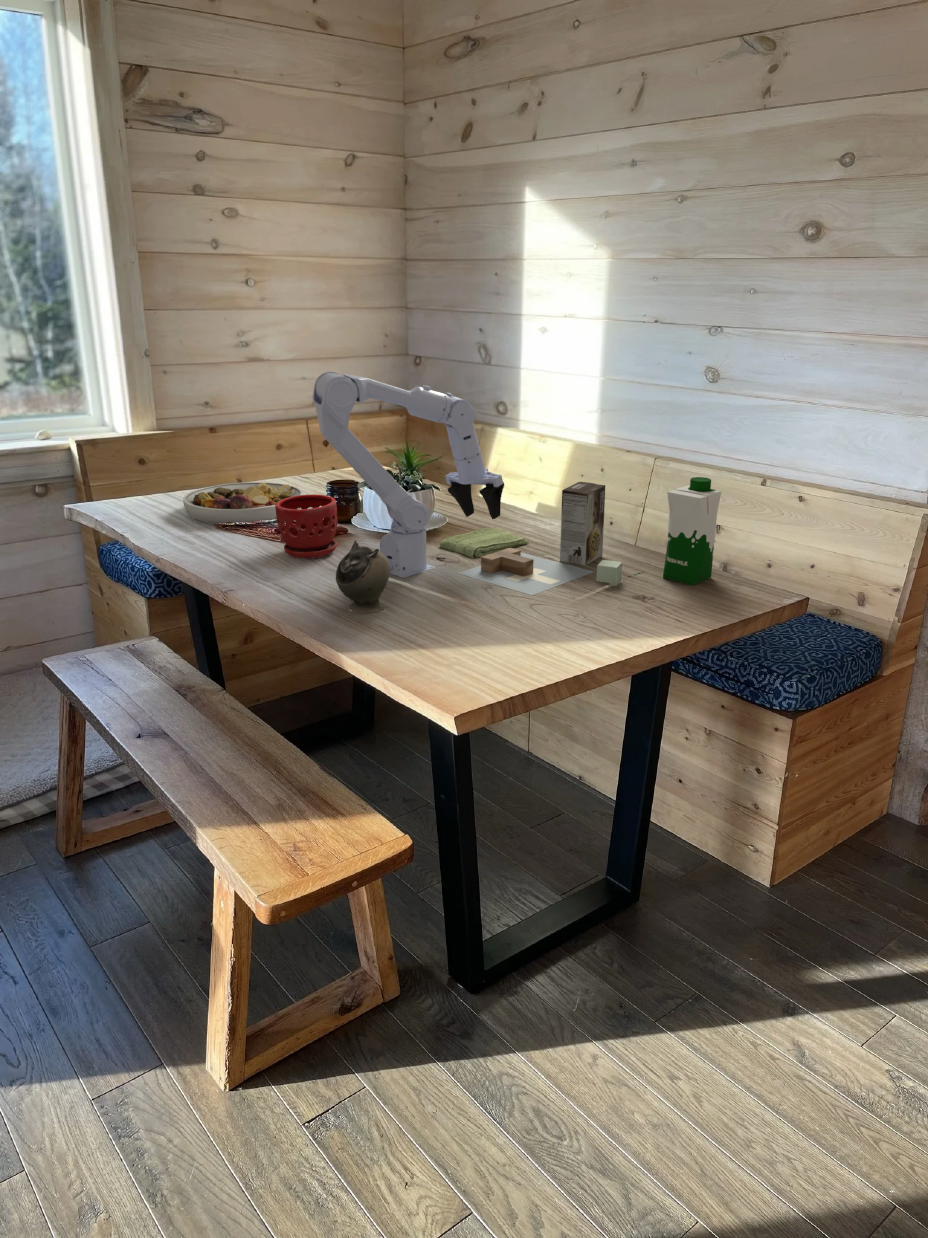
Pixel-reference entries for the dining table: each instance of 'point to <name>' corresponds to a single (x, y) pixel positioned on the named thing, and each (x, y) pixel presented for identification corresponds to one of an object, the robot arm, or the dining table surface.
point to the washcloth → (482, 542)
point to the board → (531, 576)
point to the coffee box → (582, 523)
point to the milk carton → (691, 531)
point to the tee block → (507, 562)
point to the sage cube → (609, 572)
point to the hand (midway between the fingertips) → (483, 515)
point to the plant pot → (307, 525)
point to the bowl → (237, 501)
